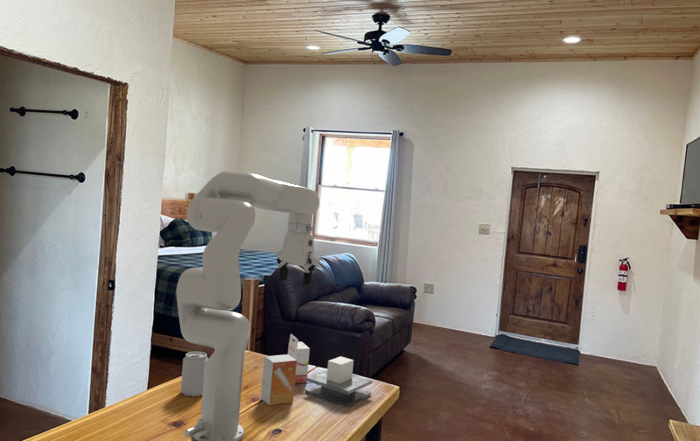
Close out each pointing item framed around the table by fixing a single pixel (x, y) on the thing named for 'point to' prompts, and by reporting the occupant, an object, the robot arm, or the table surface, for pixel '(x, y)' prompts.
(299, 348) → the ink cartridge box
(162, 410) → the table surface
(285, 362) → the small box
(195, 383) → the can
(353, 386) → the stand
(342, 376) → the block
